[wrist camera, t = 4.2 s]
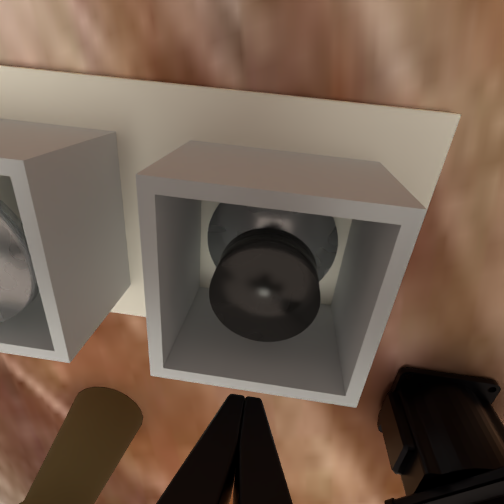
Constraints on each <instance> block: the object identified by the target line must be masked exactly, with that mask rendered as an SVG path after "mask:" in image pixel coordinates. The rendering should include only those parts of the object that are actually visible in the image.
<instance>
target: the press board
mask: <svg viewBox="0 0 504 504" xmlns="http://www.w3.org/2000/svg"><path fill="white" fill-rule="evenodd" d="M460 117H461V114H457V113H452V112H444V111H434V110H425V109H415V108H406V107H396V106H387V105H377V104H368V103H358V102H349V101H339V100H330V99H320V98H310V97H301V96H291V95H282V94H272V93H263V92H253V91H244V90H234V89H225V88H215V87H206V86H196V85H187V84H177V83H168V82H158V81H149V80H139V79H130V78H120V77H111V76H101V75H92V74H82V73H73V72H63V71H54V70H44V69H35V68H25V67H16V66H6V65H0V200H1V201H2V202H4V203H5V204H6V205H7V206H8V207H9V208H10V209H11V210H12V211H13V212H14V213H15V214H16V215H17V217H18V218H19V219H20V220H21V221H22V224H23V228H24V232H25V236H26V240H27V244H28V248H29V252H30V256H31V260H32V264H33V268H34V272H35V276H36V280H37V283H38V287H39V293H38V294H37V296H36V298H35V299H34V300H33V301H32V302H31V303H30V304H29V305H27V306H26V307H25V308H24V309H23V310H22V311H20V312H19V313H18V314H17V315H15V316H14V317H12V318H10V319H8V320H5V321H2V322H0V352H2V353H9V354H15V355H22V356H28V357H34V358H41V359H47V360H54V361H60V362H66V363H70V362H71V361H72V360H73V358H74V357H75V356H76V354H77V353H78V352H79V351H80V349H81V348H82V347H83V345H84V344H85V343H86V342H87V340H88V339H89V338H90V337H91V335H92V334H93V333H94V331H95V330H96V329H97V328H98V326H99V325H100V324H101V322H102V321H103V320H104V319H105V317H106V316H107V315H108V314H109V312H115V313H122V314H129V315H136V316H142V317H146V320H147V333H148V347H149V360H150V373H151V376H156V377H163V378H169V379H175V380H182V381H188V382H195V383H201V384H208V385H214V386H220V387H227V388H233V389H240V390H246V391H252V392H259V393H265V394H272V395H278V396H285V397H291V398H297V399H304V400H310V401H317V402H323V403H329V404H336V405H342V406H349V407H355V408H356V407H357V404H358V402H359V399H360V396H361V393H362V390H363V388H364V385H365V382H366V379H367V376H368V374H369V371H370V368H371V365H372V362H373V360H374V357H375V354H376V351H377V349H378V346H379V343H380V340H381V337H382V335H383V332H384V329H385V326H386V323H387V321H388V318H389V315H390V312H391V310H392V307H393V304H394V301H395V298H396V296H397V293H398V290H399V287H400V284H401V282H402V279H403V276H404V273H405V270H406V268H407V265H408V262H409V259H410V256H411V254H412V251H413V248H414V245H415V243H416V240H417V237H418V234H419V231H420V229H421V226H422V223H423V220H424V217H425V215H426V212H427V209H428V206H429V203H430V201H431V198H432V195H433V192H434V189H435V187H436V184H437V181H438V178H439V175H440V173H441V170H442V167H443V164H444V162H445V159H446V156H447V153H448V150H449V148H450V145H451V142H452V139H453V136H454V134H455V131H456V128H457V125H458V122H459V120H460ZM219 203H228V204H236V205H244V206H252V207H260V208H268V209H276V210H284V211H292V212H300V213H308V214H316V215H324V216H332V217H333V218H334V221H335V225H336V228H337V234H338V247H337V253H336V256H335V260H334V262H333V264H332V266H331V268H330V269H329V271H328V272H327V274H326V275H325V276H324V277H323V278H322V279H321V280H320V281H319V287H320V298H321V301H320V308H319V311H318V314H317V316H316V318H315V319H314V321H313V322H312V323H311V324H310V326H309V327H308V328H306V329H305V330H304V331H303V332H301V333H300V334H298V335H296V336H294V337H292V338H289V339H286V340H282V341H275V342H261V341H255V340H250V339H247V338H244V337H242V336H239V335H237V334H236V333H234V332H232V331H231V330H229V329H228V328H227V327H226V326H224V325H223V324H222V323H221V322H220V320H219V319H218V318H217V316H216V315H215V313H214V311H213V309H212V307H211V304H210V299H209V287H210V282H211V279H212V277H213V274H214V272H215V269H216V266H215V264H214V262H213V260H212V258H211V255H210V252H209V248H208V239H207V235H208V227H209V223H210V220H211V217H212V215H213V213H214V211H215V210H216V208H217V206H218V205H219Z"/></svg>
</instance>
